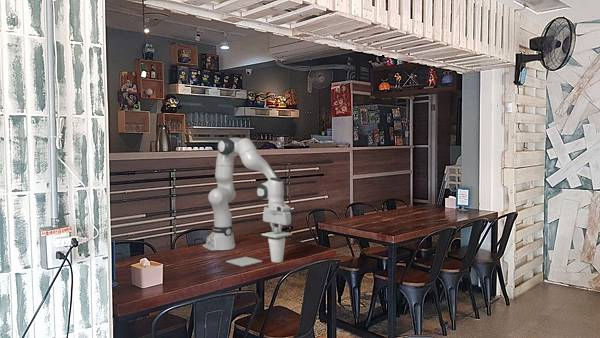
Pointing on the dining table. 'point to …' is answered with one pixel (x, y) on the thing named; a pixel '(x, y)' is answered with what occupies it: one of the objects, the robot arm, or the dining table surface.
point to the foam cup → (276, 248)
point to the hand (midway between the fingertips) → (276, 231)
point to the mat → (244, 261)
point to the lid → (276, 233)
